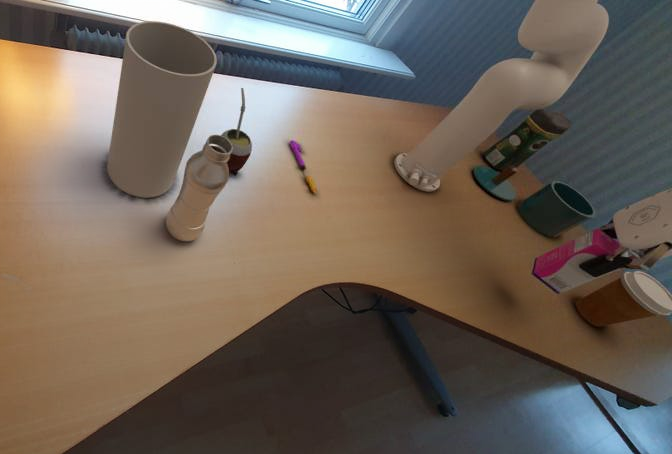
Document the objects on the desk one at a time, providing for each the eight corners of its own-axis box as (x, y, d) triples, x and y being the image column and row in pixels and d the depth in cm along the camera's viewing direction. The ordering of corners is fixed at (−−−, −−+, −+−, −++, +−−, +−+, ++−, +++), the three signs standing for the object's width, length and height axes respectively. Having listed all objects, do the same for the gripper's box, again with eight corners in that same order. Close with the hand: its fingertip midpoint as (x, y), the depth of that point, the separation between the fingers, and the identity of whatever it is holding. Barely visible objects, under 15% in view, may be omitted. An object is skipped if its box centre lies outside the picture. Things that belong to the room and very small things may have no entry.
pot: (559, 245, 96) (598, 225, 89) (517, 218, 98) (553, 197, 91) (556, 219, 103) (592, 199, 96) (517, 195, 105) (550, 173, 98)
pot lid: (512, 209, 100) (536, 194, 95) (470, 183, 101) (491, 166, 96) (512, 185, 107) (534, 170, 102) (472, 161, 109) (493, 145, 104)
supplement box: (560, 277, 74) (629, 249, 65) (557, 295, 71) (630, 267, 62) (534, 257, 75) (598, 226, 66) (530, 273, 72) (597, 243, 63)
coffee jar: (499, 155, 116) (561, 107, 102) (514, 174, 112) (581, 126, 98) (477, 151, 114) (537, 101, 99) (491, 170, 109) (557, 121, 95)
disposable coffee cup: (560, 292, 84) (622, 267, 75) (587, 294, 87) (651, 270, 78) (589, 333, 79) (659, 312, 70) (617, 334, 82) (689, 313, 72)
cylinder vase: (93, 161, 68) (107, 25, 48) (148, 142, 74) (179, 17, 55) (132, 209, 64) (164, 83, 44) (186, 185, 71) (234, 67, 51)
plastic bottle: (173, 250, 61) (212, 166, 46) (156, 218, 64) (187, 129, 49) (206, 240, 64) (252, 159, 49) (188, 210, 67) (227, 124, 52)
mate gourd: (230, 185, 74) (262, 127, 63) (198, 163, 75) (224, 102, 63) (246, 166, 79) (278, 109, 67) (215, 146, 80) (242, 86, 68)
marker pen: (288, 142, 88) (311, 194, 79) (291, 138, 87) (315, 191, 78) (296, 145, 89) (320, 197, 81) (299, 141, 88) (324, 193, 80)
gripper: (682, 156, 59) (561, 219, 73) (716, 218, 49) (568, 278, 63) (727, 183, 58) (597, 242, 72) (773, 252, 48) (610, 305, 62)
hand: (585, 258), depth 68 cm, fingers closed on supplement box, 6 cm apart
